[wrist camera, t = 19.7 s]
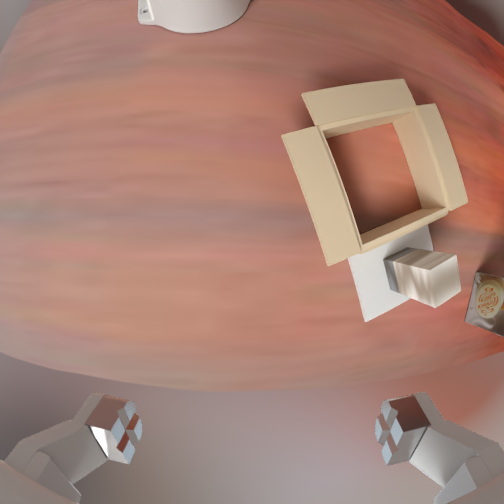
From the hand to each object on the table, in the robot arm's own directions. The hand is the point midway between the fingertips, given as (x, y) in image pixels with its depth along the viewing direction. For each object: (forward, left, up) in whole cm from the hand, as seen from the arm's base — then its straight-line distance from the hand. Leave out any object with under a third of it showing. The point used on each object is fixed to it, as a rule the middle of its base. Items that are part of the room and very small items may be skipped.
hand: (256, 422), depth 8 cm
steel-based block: (+7, +22, -26) cm, 35 cm away
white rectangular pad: (+8, +22, -27) cm, 35 cm away
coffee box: (+21, +39, -27) cm, 52 cm away
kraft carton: (-7, +22, -27) cm, 35 cm away
